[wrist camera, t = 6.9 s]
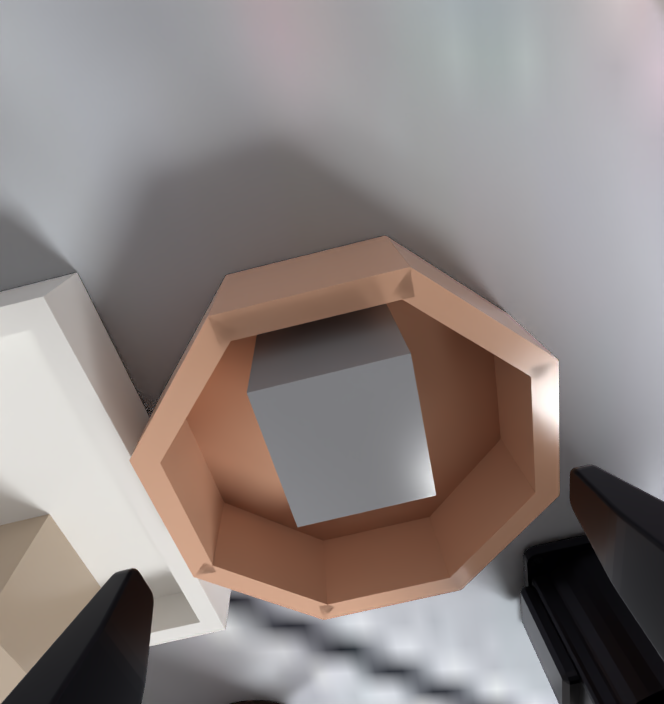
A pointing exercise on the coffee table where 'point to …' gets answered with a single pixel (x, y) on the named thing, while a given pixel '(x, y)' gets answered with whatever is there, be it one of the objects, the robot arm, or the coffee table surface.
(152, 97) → the coffee table surface
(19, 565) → the taupe block
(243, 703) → the coffee mug
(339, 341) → the grey block
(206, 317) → the terracotta bowl
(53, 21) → the coffee table surface
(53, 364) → the tray
